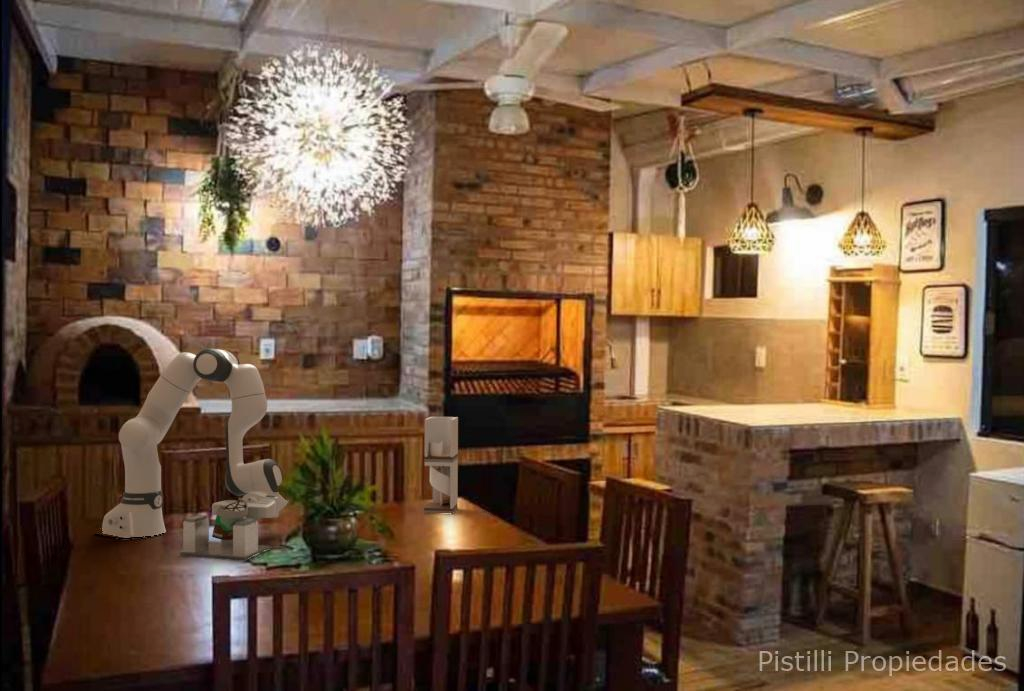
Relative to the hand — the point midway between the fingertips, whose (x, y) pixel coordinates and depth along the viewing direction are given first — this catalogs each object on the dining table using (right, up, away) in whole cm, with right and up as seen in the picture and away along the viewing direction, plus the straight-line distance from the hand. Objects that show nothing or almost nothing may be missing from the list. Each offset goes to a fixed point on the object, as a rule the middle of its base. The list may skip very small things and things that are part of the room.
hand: (230, 514), depth 278 cm
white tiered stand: (+59, -11, +66) cm, 89 cm away
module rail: (-1, -11, -2) cm, 12 cm away
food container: (0, -6, -2) cm, 7 cm away
